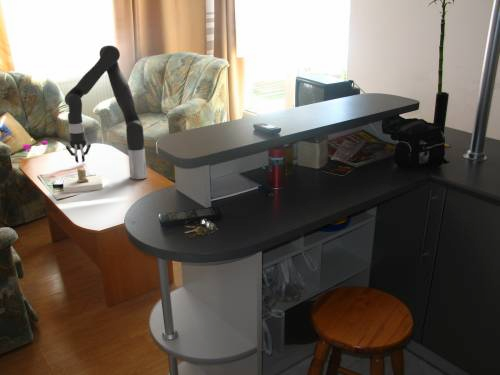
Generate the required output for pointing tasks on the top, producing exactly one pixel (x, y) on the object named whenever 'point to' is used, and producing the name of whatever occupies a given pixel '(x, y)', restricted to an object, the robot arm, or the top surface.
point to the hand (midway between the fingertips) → (80, 162)
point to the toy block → (30, 147)
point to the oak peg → (82, 175)
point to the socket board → (82, 184)
